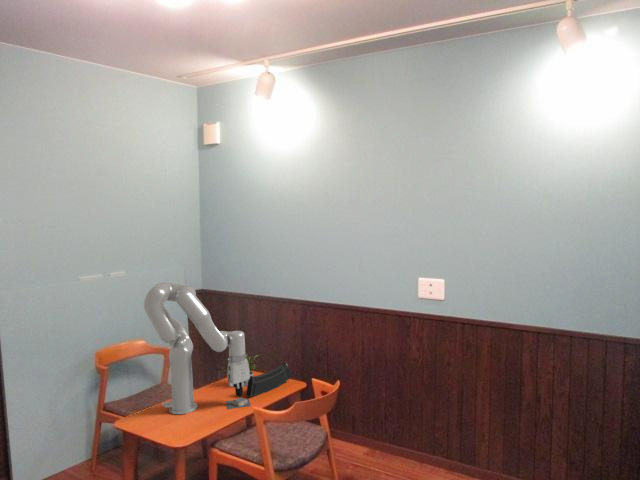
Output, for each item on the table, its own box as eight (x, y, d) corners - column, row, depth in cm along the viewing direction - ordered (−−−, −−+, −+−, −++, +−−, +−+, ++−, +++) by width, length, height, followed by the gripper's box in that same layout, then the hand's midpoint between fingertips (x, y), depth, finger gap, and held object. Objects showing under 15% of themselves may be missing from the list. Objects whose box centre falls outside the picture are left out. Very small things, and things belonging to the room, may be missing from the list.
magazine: (246, 382, 236) (285, 350, 258) (241, 381, 238) (281, 349, 260) (254, 412, 241) (293, 378, 263) (250, 411, 243) (288, 377, 265)
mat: (227, 409, 226) (227, 409, 226) (225, 401, 236) (225, 401, 236) (251, 406, 229) (250, 406, 229) (248, 398, 239) (248, 398, 239)
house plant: (253, 377, 269) (251, 348, 268) (267, 384, 259) (265, 353, 258) (230, 384, 260) (228, 353, 259) (243, 391, 250) (242, 359, 249)
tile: (238, 402, 229) (247, 399, 233) (232, 400, 233) (241, 397, 236) (238, 406, 229) (247, 403, 233) (232, 403, 233) (241, 400, 236)
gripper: (228, 363, 223) (230, 402, 224) (255, 355, 234) (256, 393, 235) (219, 359, 229) (221, 398, 230) (245, 352, 239) (247, 389, 240)
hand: (239, 395), depth 232 cm, fingers closed
